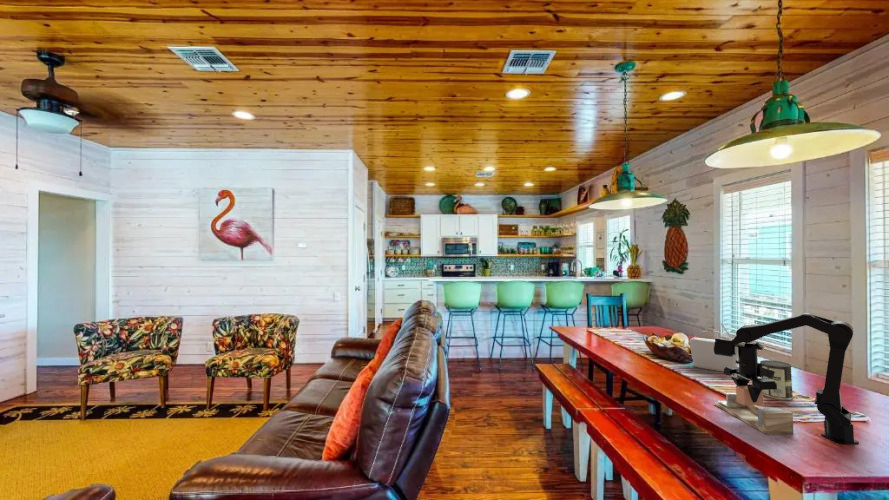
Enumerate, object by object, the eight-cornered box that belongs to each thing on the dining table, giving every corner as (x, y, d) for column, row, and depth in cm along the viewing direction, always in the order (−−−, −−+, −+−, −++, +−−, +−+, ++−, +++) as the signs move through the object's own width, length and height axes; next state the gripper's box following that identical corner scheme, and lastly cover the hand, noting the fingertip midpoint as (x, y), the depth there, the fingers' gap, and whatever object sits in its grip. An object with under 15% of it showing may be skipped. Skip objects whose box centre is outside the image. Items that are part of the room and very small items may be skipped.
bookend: (745, 407, 148) (745, 393, 148) (728, 407, 148) (727, 394, 148) (734, 401, 154) (734, 388, 154) (717, 402, 154) (717, 388, 154)
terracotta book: (763, 405, 139) (762, 389, 140) (744, 405, 140) (744, 389, 140) (754, 400, 143) (754, 385, 144) (736, 401, 144) (735, 385, 144)
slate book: (785, 428, 130) (784, 411, 131) (765, 429, 131) (764, 412, 131) (777, 424, 133) (777, 408, 134) (758, 425, 134) (757, 408, 134)
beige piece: (793, 434, 128) (792, 412, 128) (767, 434, 129) (766, 413, 129) (736, 404, 154) (735, 386, 154) (714, 404, 155) (713, 386, 155)
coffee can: (782, 391, 166) (780, 360, 166) (799, 400, 156) (797, 367, 156) (756, 390, 168) (754, 359, 168) (771, 399, 158) (769, 366, 158)
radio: (742, 371, 195) (740, 323, 195) (739, 375, 189) (737, 326, 189) (693, 363, 211) (691, 319, 211) (689, 366, 205) (687, 321, 205)
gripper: (791, 365, 132) (793, 409, 132) (749, 352, 151) (751, 390, 151) (759, 366, 133) (762, 410, 132) (722, 353, 151) (723, 391, 151)
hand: (749, 400), depth 142 cm, fingers closed on terracotta book, 4 cm apart
